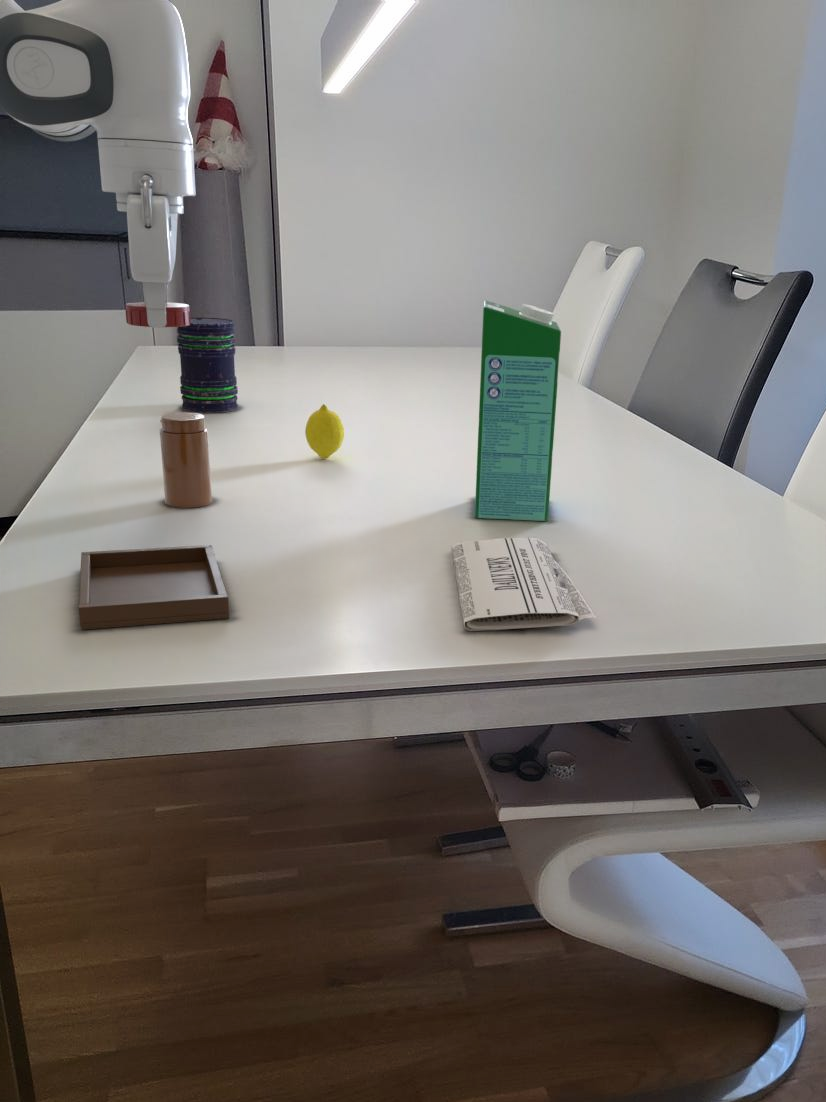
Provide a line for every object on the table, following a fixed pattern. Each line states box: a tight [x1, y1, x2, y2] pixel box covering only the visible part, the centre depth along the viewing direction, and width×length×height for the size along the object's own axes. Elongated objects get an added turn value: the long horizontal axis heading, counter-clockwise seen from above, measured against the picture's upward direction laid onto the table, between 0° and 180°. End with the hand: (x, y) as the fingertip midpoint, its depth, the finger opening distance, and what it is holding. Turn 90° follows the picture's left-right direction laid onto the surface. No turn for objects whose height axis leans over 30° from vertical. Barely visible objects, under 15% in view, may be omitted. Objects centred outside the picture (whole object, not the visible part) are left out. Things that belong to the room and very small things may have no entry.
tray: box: [78, 544, 230, 631], centre depth 98 cm, size 16×13×2 cm
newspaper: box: [450, 537, 597, 632], centre depth 104 cm, size 23×12×2 cm, turn 4°
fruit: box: [304, 403, 345, 460], centre depth 151 cm, size 6×6×8 cm
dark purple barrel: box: [176, 317, 239, 414], centre depth 181 cm, size 10×10×15 cm
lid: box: [125, 301, 191, 328], centre depth 106 cm, size 6×6×2 cm
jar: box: [159, 411, 213, 509], centre depth 126 cm, size 6×6×11 cm
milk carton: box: [474, 299, 562, 522], centre depth 126 cm, size 9×9×25 cm
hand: (158, 322), depth 106 cm, fingers closed on lid, 6 cm apart
